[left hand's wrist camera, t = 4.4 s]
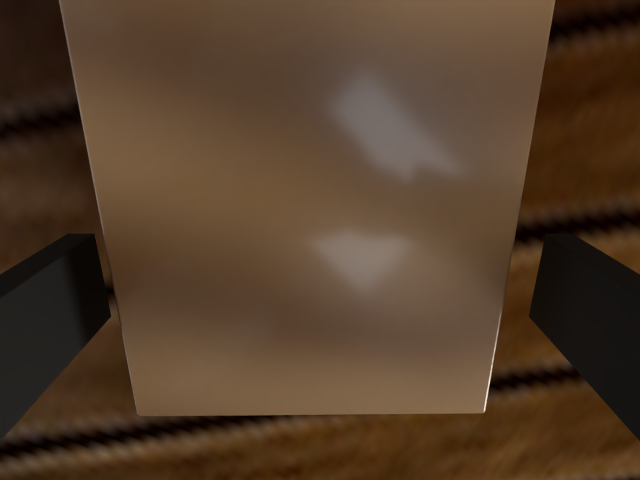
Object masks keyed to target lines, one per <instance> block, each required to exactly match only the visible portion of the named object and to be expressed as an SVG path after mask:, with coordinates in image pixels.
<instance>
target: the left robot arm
mask: <svg viewBox="0 0 640 480" xmlns="http://www.w3.org/2000/svg"><path fill="white" fill-rule="evenodd" d="M110 317H111V313H110V308H109V303H108V299H107V294H106V289H105V284H104V279H103V274H102V269H101V264H100V260H99V255H98V250H97V245H96V240H95V235H94V234H67V235H65V236H63V237H62V238H60V239H58V240H57V241H55V242H54V243H52V244H50V245H49V246H47V247H45V248H44V249H42V250H40V251H39V252H37V253H35V254H34V255H32V256H30V257H29V258H27V259H25V260H24V261H22V262H20V263H19V264H17V265H15V266H14V267H12V268H10V269H9V270H7V271H5V272H4V273H2V274H1V275H0V441H1V440H2V438H3V437H4V436H5V435H6V434H7V433H8V432H9V431H10V429H11V428H12V427H13V426H14V425H15V424H16V423H17V422H18V420H19V419H20V418H21V417H22V416H23V415H24V414H25V413H26V411H27V410H28V409H29V408H30V407H31V406H32V405H33V404H34V402H35V401H36V400H37V399H38V398H39V397H40V396H41V395H42V393H43V392H44V391H45V390H46V389H47V388H48V387H49V386H50V384H51V383H52V382H53V381H54V380H55V379H56V378H57V377H58V375H59V374H60V373H61V372H62V371H63V370H64V369H65V368H66V366H67V365H68V364H69V363H70V362H71V361H72V360H73V359H74V357H75V356H76V355H77V354H78V353H79V352H80V351H81V350H82V348H83V347H84V346H85V345H86V344H87V343H88V342H89V341H90V340H91V338H92V337H93V336H94V335H95V334H96V333H97V332H98V331H99V329H100V328H101V327H102V326H103V325H104V324H105V323H106V322H107V320H108V319H109V318H110ZM529 317H530V318H531V319H532V320H533V322H534V323H535V324H536V325H537V326H538V327H539V328H540V329H541V331H542V332H543V333H544V334H545V335H546V336H547V337H548V338H549V340H550V341H551V342H552V343H553V344H554V345H555V346H556V347H557V348H558V350H559V351H560V352H561V353H562V354H563V355H564V356H565V357H566V359H567V360H568V361H569V362H570V363H571V364H572V365H573V366H574V368H575V369H576V370H577V371H578V372H579V373H580V374H581V375H582V377H583V378H584V379H585V380H586V381H587V382H588V383H589V384H590V386H591V387H592V388H593V389H594V390H595V391H596V392H597V393H598V395H599V396H600V397H601V398H602V399H603V400H604V401H605V402H606V404H607V405H608V406H609V407H610V408H611V409H612V410H613V411H614V413H615V414H616V415H617V416H618V417H619V418H620V419H621V420H622V422H623V423H624V424H625V425H626V426H627V427H628V428H629V429H630V431H631V432H632V433H633V434H634V435H635V436H636V437H637V438H638V440H639V441H640V275H639V274H638V273H636V272H635V271H633V270H631V269H630V268H628V267H626V266H625V265H623V264H621V263H620V262H618V261H616V260H615V259H613V258H611V257H610V256H608V255H606V254H605V253H603V252H601V251H600V250H598V249H596V248H595V247H593V246H591V245H590V244H588V243H586V242H585V241H583V240H582V239H580V238H578V237H577V236H575V235H573V234H546V235H545V240H544V245H543V250H542V255H541V260H540V264H539V269H538V274H537V279H536V284H535V289H534V294H533V299H532V303H531V308H530V313H529Z"/></svg>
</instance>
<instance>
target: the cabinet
mask: <svg viewBox="0 0 640 480" xmlns="http://www.w3.org/2000/svg"><path fill="white" fill-rule="evenodd" d="M554 4H555V0H59V5H60V10H61V15H62V20H63V26H64V31H65V36H66V41H67V47H68V52H69V57H70V62H71V68H72V73H73V78H74V84H75V89H76V94H77V99H78V105H79V110H80V115H81V120H82V126H83V131H84V136H85V141H86V147H87V152H88V157H89V162H90V168H91V173H92V178H93V184H94V189H95V194H96V199H97V205H98V210H99V215H100V220H101V226H102V231H103V236H104V241H105V247H106V252H107V257H108V262H109V268H110V273H111V278H112V284H113V289H114V294H115V299H116V305H117V310H118V315H119V320H120V326H121V331H122V336H123V341H124V347H125V352H126V357H127V363H128V368H129V373H130V378H131V384H132V389H133V394H134V399H135V405H136V410H137V415H138V416H211V415H326V414H440V413H484V412H485V408H486V402H487V397H488V391H489V385H490V379H491V373H492V367H493V361H494V356H495V350H496V344H497V338H498V332H499V326H500V321H501V315H502V309H503V303H504V297H505V291H506V285H507V280H508V274H509V268H510V262H511V256H512V250H513V244H514V239H515V233H516V227H517V221H518V215H519V209H520V203H521V198H522V192H523V186H524V180H525V174H526V168H527V163H528V157H529V151H530V145H531V139H532V133H533V127H534V122H535V116H536V110H537V104H538V98H539V92H540V86H541V81H542V75H543V69H544V63H545V57H546V51H547V45H548V40H549V34H550V28H551V22H552V16H553V10H554Z"/></svg>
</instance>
